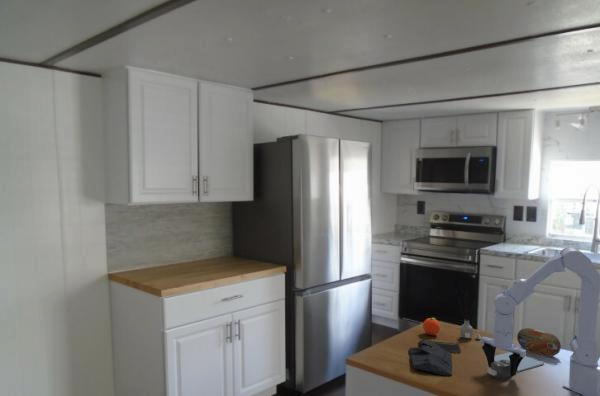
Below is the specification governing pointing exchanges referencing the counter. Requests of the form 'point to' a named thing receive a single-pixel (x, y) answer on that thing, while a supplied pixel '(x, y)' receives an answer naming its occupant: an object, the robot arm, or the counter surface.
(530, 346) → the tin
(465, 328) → the reed diffuser
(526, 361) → the rubber mat
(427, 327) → the clementine
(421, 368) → the dark slate chunk
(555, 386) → the counter surface
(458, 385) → the counter surface
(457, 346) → the phone
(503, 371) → the connector
